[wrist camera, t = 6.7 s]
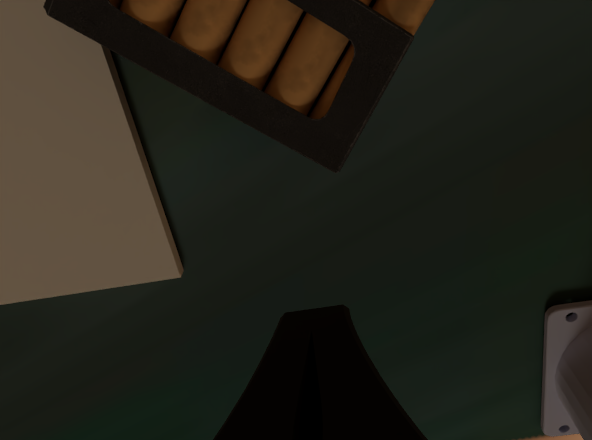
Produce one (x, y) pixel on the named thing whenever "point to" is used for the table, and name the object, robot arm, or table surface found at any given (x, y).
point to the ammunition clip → (264, 58)
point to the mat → (71, 168)
